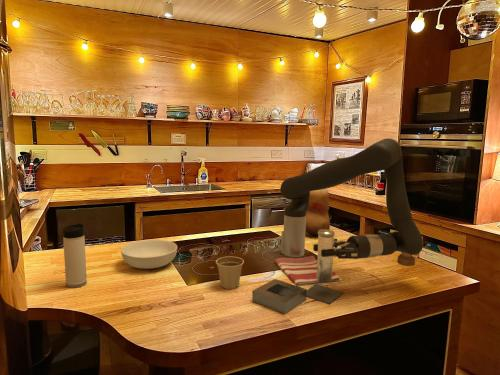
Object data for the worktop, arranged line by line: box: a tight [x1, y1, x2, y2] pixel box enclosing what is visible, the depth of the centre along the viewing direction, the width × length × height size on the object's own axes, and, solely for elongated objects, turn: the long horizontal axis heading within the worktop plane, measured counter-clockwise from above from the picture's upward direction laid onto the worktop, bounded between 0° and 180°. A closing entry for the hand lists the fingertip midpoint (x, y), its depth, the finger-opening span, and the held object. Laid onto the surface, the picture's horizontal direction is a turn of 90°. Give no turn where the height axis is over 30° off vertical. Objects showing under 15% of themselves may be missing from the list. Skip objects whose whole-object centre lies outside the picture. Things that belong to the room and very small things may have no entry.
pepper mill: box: [396, 252, 416, 266], centre depth 146 cm, size 7×6×18 cm
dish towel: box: [274, 255, 340, 287], centre depth 136 cm, size 17×23×3 cm
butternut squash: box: [305, 188, 331, 237], centre depth 182 cm, size 14×13×25 cm
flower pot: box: [215, 255, 245, 290], centre depth 122 cm, size 9×9×9 cm
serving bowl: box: [120, 239, 178, 270], centre depth 139 cm, size 21×21×7 cm
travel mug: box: [62, 223, 88, 289], centre depth 120 cm, size 6×7×20 cm
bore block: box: [251, 278, 308, 315], centre depth 112 cm, size 12×12×4 cm
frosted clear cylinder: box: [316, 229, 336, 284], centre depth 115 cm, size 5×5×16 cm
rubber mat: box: [306, 284, 344, 305], centre depth 117 cm, size 10×10×1 cm
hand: (317, 250), depth 114 cm, fingers closed on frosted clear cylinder, 4 cm apart
